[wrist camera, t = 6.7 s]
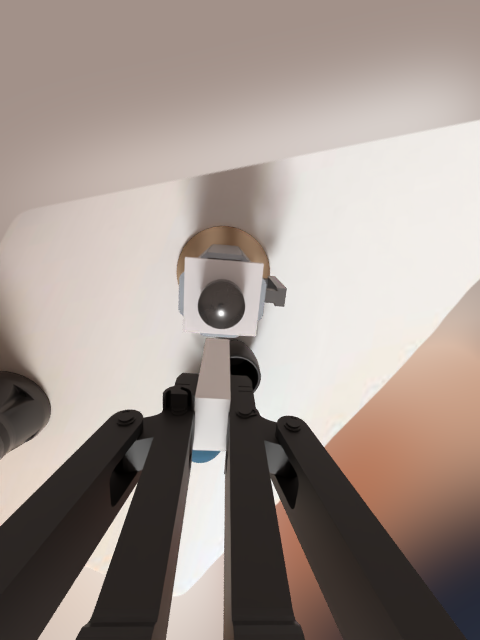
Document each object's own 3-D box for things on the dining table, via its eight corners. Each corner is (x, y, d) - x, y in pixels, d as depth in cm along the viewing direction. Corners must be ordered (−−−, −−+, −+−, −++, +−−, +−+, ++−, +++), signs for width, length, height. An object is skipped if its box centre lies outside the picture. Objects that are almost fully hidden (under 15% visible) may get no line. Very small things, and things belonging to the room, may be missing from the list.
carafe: (192, 301, 49) (177, 336, 34) (194, 242, 46) (178, 250, 31) (266, 306, 50) (284, 343, 35) (273, 248, 47) (297, 260, 31)
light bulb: (178, 419, 58) (167, 467, 47) (191, 386, 56) (182, 428, 44) (216, 430, 59) (214, 479, 48) (231, 399, 57) (232, 442, 46)
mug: (187, 349, 53) (179, 374, 44) (246, 326, 52) (250, 347, 43) (205, 384, 56) (200, 415, 47) (261, 362, 55) (268, 390, 46)
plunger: (195, 307, 42) (184, 337, 30) (197, 255, 39) (186, 267, 28) (246, 310, 42) (253, 342, 31) (251, 259, 40) (261, 273, 28)
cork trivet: (176, 314, 51) (176, 315, 50) (178, 221, 46) (177, 221, 45) (263, 320, 52) (264, 322, 51) (274, 230, 47) (275, 230, 46)
